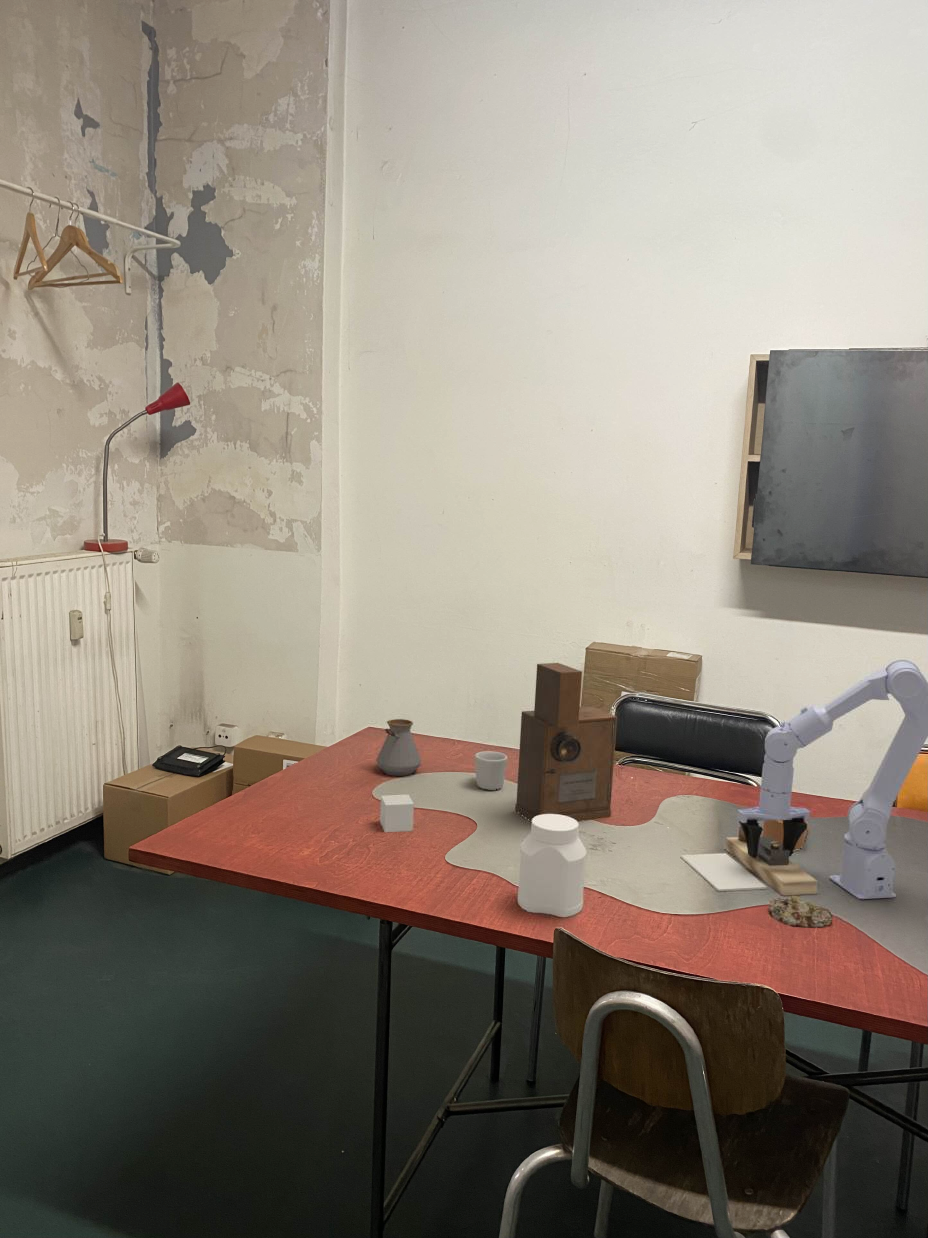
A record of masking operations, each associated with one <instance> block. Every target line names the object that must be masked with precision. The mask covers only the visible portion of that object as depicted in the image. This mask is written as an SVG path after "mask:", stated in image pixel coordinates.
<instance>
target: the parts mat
mask: <svg viewBox="0 0 928 1238" xmlns="http://www.w3.org/2000/svg"><path fill="white" fill-rule="evenodd" d="M679 857H680V858H681V859H682V860H683V861H684V862H685V861H686V862H687V863H688V864H689V865H688V864H687V863H686V862H685V863H686V864H687V865H688V866H690V868H692V869H693V870H694V871H695V872H696V873H697V874H698V875H699V876H700V877H701V878H702V879H703V880H705V881H706V882H707V883H708V884H709V885H710V886H711V887H712V888H714V889H715V890H716V891H717V892H733V891H734V892H736V891H751V890H752V891H755V890H767V889H768V886H766V885H765V884H764V883H763V882H761V881H760V879H758V878H757V877H756V876H754V875H753V874H752V873H751V872H749V871H748V870H747V869H745V867H743V866H742V865H741V864H740V863H738V862H737V861H736V860H734V858H732V857H731V856H730V855H728V853H723V852H722V853H720V852H719V853H704V854H702V853H699V854H680V856H679Z"/></svg>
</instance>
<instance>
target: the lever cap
mask: <svg viewBox="0 0 928 1238" xmlns="http://www.w3.org/2000/svg"><path fill="white" fill-rule="evenodd" d="M789 854H790V850H789V849H787V848H786V847H784V846H783V845H782V844H780V843H779V842H777V841H776V840H775V839H773V838H772V837H763V836H760V839H759V844H758V853H757V857H759V858H760V859H761V860H763V861H764V862H765V863H767V864H768V865H769V866H778V865H788V863H789V860H790V856H789Z"/></svg>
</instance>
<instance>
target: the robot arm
mask: <svg viewBox="0 0 928 1238" xmlns="http://www.w3.org/2000/svg"><path fill="white" fill-rule="evenodd" d="M889 695H891V696H892V697H893V698H894V699H895V700H896V701H897V702H898V703H899V705H900V707H901V709H902V711H903V713H904V717H903V720H902V721H901V723H900V726H899V727H898V729H897V731H896V733H895V735H894V737H893V739H892V741H891V743H890V745H889V747H888V749H887V750H886V753H885V755H884V756H883V759H882V760H881V763H880V764H879V767H878V768H877V769H876V770H877V771H876V772H875V775H874V776H873V779H872V781H871V782H870V784H869V786H868V788H867V789H866V790H865V791H864V792H863V793H862V795H861V797H860V798H859V800H858V801H857V802H855V803H854V804H852V805H851V806H850V807H849V808H848V810H847V822H848V824H849V829H848V832H847V833H845V834H844V837H843V842H842V843H843V846H842V852H841V853H842V855H841V862H840V871H839V875H835V874H834V875H830V876H829V879H830V880H831V881H833V882H834V883H835V884H836V885H839V887H841V888H843V889H844V890H845V891H847V892H848V893H850V894H851V895H852V896H854V897H855V898H857V900H858V899H859V900H867V899H868V900H870V899H887V898H888V899H889V898H896V897H897V894H896V893H894V891H893V890H894V881H895V873H896V863H895V859H894V858H893V857H891V855H890V854H889V852H888V851H887V849H886V840H885V839H886V838H887V824H888V822H889V819H890V818H891V814H892V810H893V809H892V808H893V806H894V805H893V804H894V803H895V800H896V799H897V797H898V795H899V792H900V791H901V789H902V787H903V785H904V783H905V781H906V779H907V777H908V775H909V773H910V772H911V770H912V768H913V766H914V764H915V762H916V760H917V758H918V756H919V754H920V752H921V750H922V748H923V747H924V745H925V742H926V740H927V739H928V681H927V679H926V678H925V675H924V674H923V672H922V671H921V670H920V669H919V667H918V666H917V664H915V663H913V662H912V661H911V660H909V659H908V660H907V659H897V660H893V661H892V662H890V663H889V664H888V665H887V666H886V667H884V666H883V667H881V668H879V669H877V670H875V671H873V672H872V673H871V674H869V675H867V676H865V677H864V678H862V679H861V680H860V681H858V682H857V683H855V684H853V686H851V687H850V688H848V689H847V690H845V691H843V692H842V693H841V694H839V695H838V696H837V697H835V698H834V699H832V700H831V701H830V702H828V703H826V704H825V705H823V706H821V705H816V704H813V705H811V706H809V707H808V706H807V705H804V706H802V707H801V708H800V713H798V714H797V715H795V716H794V717H792V718H790V719H789V720H787V721H786V722H785V720H783V721H781V722H779V726H776V727H774V728H771V729H770V730H769V731H768V733H767V734H766V737H765V738H764V750H765V754H764V758H763V760H764V762H763V764H762V772H761V782H760V783H761V784H760V793H759V804H758V805H759V806H758V805H757V806H754V807H749V808H745V809H744V808H743V809H737V814H736V815H737V816H736V819H737V821H738V822H739V825H740V827H742V829H743V832H744V835H745V839H746V843H747V849H748V855H750V856H751V857H752V858H756V857H757V853H758V844H759V839H760V837H762V836H761V835H762V834H763V827H762V826H760V824H759V822H764V821H771V820H783V830H784V837H783V846H784V847H786V848H787V849H789V850H790V854H789V857H792V855H793V853H794V851H793V850H794V848H795V846H796V843H797V841H798V840H799V838H800V836H801V835H802V834H803V832H804V831H805V830H806V829H807V830H808V827H807V823H805V822H804V820H805V821H808V822H809V821H810V814H811V811H810V810H808V809H807V808H805V807H793V806H791V801H792V800H791V799H792V792H793V791H792V790H793V782H794V774H795V773H794V771H795V768H794V766H793V764H794V758H795V757H796V755H797V753H798V749H803V748H804V749H805V747H807V746H808V745H810V744H812V743H814V742H815V741H817V740H818V739H820V738H822V737H823V736H825V735H826V734H828V733H829V732H832V730H833V725H834V721H836V720H838V719H840V718H841V717H843V716H844V715H846V714H847V713H850V712H852V711H853V710H856V709H857V708H858V707H860V706H862V705H863V704H866V703H867V702H869V701H871V700H877V701H879V700H880V701H889V700H890V698H889Z"/></svg>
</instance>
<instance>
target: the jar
mask: <svg viewBox="0 0 928 1238" xmlns="http://www.w3.org/2000/svg"><path fill="white" fill-rule="evenodd" d="M579 826H580V824H579V821H578V822H577V821H576V820H575V819H573V818H571V817H568V816H564V815H559V814H542V815H538V816H535V817H534V818H533V819H532V823H531V826H530V827H531V828H530V832H529V834H528V835H527V836H526V838H525V839H524V840H523V841H522V843H521V844H520V863H519V879H518V880H519V881H518V890H517V903H518V905H519V907H521V909H522V910H524V911H525V910H526V912H528V913H531V912H532V914H533V913H534V914H544V915H550V914H551V915H550V916H554V915H555V916H554V917H559V918H568V917H569V918H570V917H572V916H576V915H577V914H579V913H580V912H581V911H582V909H583V908H584V886H585V873H586V872H585V871H586V870H585V869H586V860H587V849H586V847H585V845H584V844H583V842H582V841H581V839H580V837H579Z"/></svg>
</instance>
